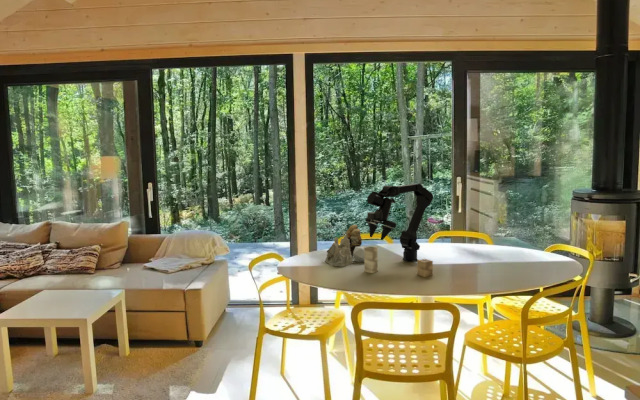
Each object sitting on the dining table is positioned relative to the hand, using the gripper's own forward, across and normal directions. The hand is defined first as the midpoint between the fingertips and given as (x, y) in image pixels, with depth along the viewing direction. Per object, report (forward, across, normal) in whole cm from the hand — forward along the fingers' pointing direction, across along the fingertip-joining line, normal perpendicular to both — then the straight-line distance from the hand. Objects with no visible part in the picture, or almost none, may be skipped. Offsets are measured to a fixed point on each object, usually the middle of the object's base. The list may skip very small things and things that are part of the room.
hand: (376, 238), depth 232 cm
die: (+14, -13, +4) cm, 20 cm away
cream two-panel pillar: (+16, +8, -4) cm, 19 cm away
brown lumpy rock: (+11, -30, +12) cm, 34 cm away
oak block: (+11, +27, +13) cm, 31 cm away
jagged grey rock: (+18, -18, -7) cm, 26 cm away
